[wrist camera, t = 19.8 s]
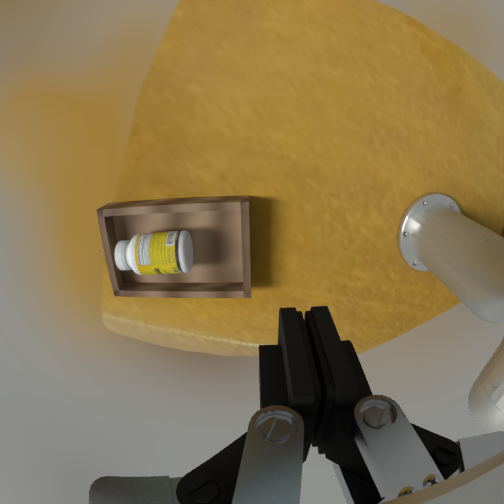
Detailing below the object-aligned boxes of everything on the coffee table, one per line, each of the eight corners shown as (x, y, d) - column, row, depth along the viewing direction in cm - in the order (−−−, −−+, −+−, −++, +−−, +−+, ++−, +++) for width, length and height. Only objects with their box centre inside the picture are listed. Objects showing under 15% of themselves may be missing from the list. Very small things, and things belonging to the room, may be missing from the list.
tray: (249, 195, 37) (248, 201, 34) (251, 284, 42) (251, 297, 39) (107, 203, 37) (96, 210, 34) (123, 284, 43) (114, 296, 39)
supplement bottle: (195, 270, 39) (130, 272, 40) (193, 230, 39) (128, 234, 39) (185, 276, 34) (113, 278, 34) (183, 229, 33) (110, 235, 34)
